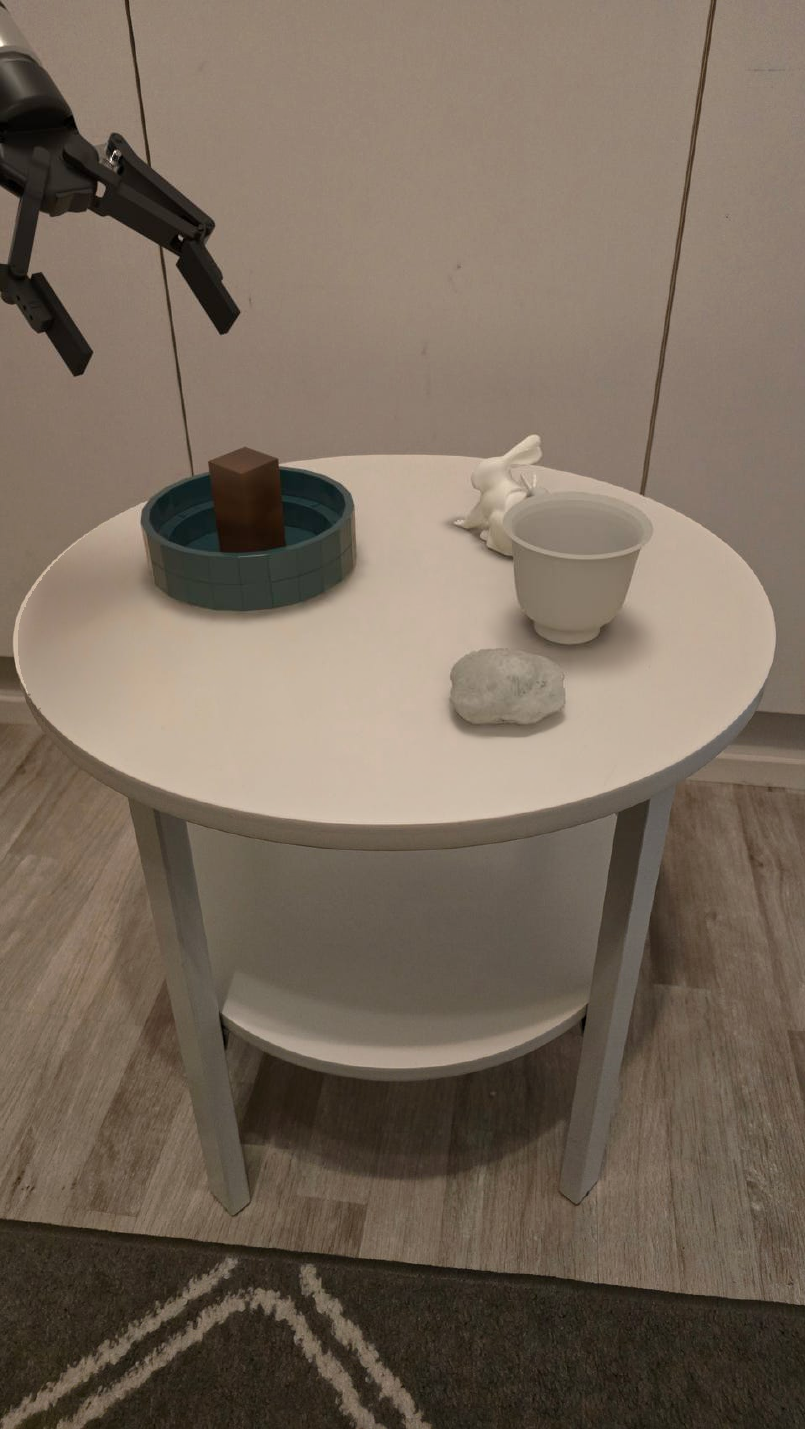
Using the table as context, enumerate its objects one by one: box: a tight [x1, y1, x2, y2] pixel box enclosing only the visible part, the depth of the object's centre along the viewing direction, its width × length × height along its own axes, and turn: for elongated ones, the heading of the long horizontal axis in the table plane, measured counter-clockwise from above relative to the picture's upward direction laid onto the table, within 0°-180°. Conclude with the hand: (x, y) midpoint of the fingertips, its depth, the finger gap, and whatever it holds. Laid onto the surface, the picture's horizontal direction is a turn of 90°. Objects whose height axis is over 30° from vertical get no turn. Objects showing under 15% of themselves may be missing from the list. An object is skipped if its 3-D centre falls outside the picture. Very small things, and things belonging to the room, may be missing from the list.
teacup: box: [503, 485, 654, 645], centre depth 83 cm, size 12×15×10 cm
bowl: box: [139, 465, 358, 613], centre depth 93 cm, size 20×20×6 cm
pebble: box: [449, 647, 567, 725], centre depth 74 cm, size 9×8×5 cm
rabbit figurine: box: [452, 434, 543, 557], centre depth 96 cm, size 12×8×10 cm, turn 28°
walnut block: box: [207, 446, 286, 553], centre depth 92 cm, size 4×4×10 cm
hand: (161, 343), depth 73 cm, fingers open, 13 cm apart
